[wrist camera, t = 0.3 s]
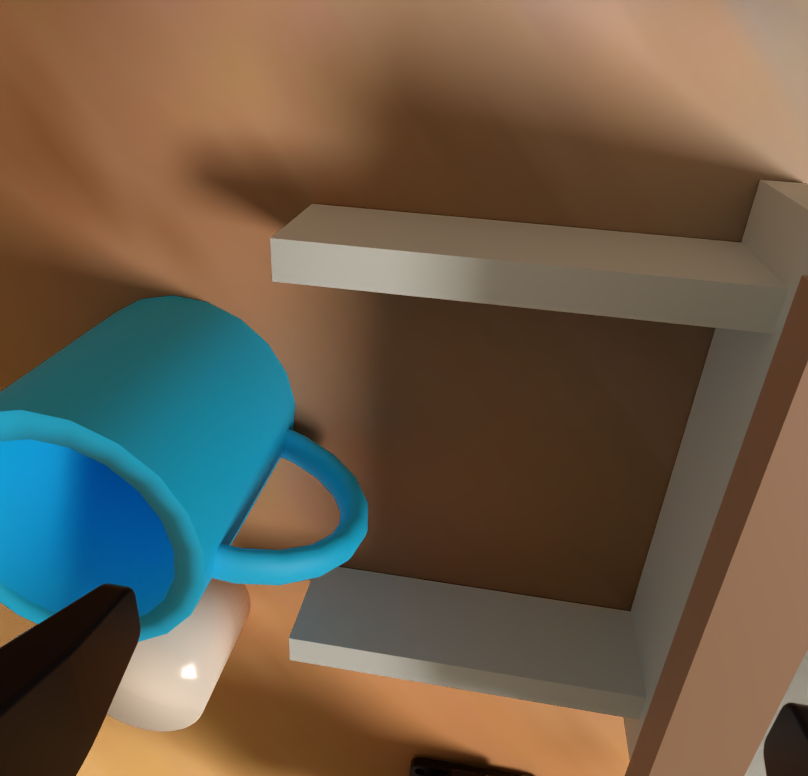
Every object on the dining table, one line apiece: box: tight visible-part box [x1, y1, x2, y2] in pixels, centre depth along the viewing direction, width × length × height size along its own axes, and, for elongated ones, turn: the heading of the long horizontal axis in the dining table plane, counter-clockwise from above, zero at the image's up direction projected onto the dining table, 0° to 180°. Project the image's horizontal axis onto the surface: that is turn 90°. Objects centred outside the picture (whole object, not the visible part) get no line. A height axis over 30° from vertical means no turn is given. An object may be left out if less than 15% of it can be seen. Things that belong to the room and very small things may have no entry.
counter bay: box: [270, 180, 808, 776], centre depth 20 cm, size 20×14×10 cm
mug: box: [0, 295, 368, 642], centre depth 22 cm, size 12×8×8 cm
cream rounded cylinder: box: [107, 578, 250, 731], centre depth 28 cm, size 6×6×5 cm
